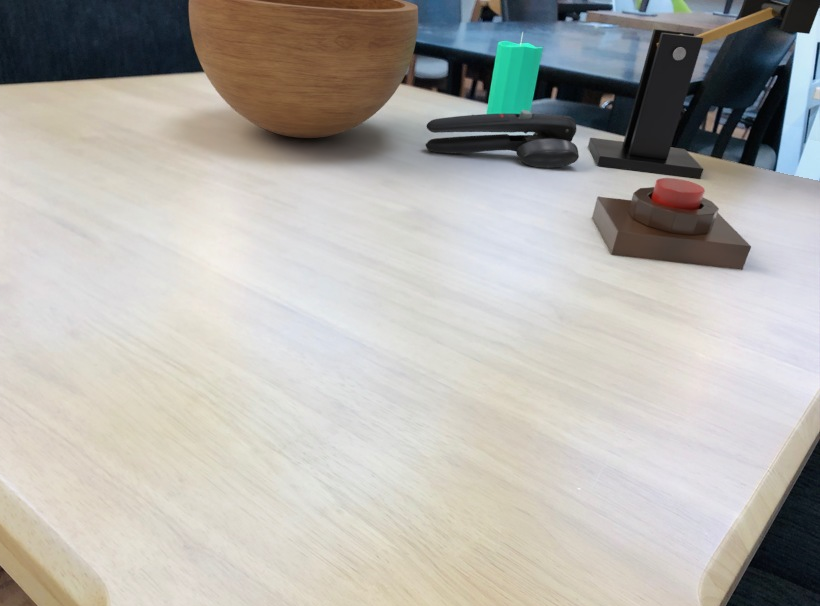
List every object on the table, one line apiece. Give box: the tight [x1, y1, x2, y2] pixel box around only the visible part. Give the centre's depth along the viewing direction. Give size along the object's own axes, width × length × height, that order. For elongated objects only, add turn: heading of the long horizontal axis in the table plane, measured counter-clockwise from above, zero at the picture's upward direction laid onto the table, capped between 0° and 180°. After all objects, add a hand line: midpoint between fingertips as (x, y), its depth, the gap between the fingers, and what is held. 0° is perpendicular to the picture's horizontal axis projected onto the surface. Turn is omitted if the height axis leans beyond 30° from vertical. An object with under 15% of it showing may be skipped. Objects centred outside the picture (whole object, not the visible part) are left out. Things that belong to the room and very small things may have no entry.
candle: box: [485, 31, 544, 114], centre depth 95 cm, size 6×6×12 cm
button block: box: [591, 186, 752, 271], centre depth 62 cm, size 11×9×4 cm
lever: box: [657, 0, 789, 46], centre depth 79 cm, size 13×6×2 cm, turn 82°
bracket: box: [587, 28, 704, 179], centre depth 84 cm, size 12×9×15 cm
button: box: [651, 177, 706, 210], centre depth 61 cm, size 4×4×2 cm
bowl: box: [188, 0, 419, 139], centre depth 81 cm, size 25×25×15 cm
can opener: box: [425, 110, 580, 168], centre depth 82 cm, size 18×7×6 cm, turn 88°
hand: (770, 25), depth 78 cm, fingers open, 13 cm apart
